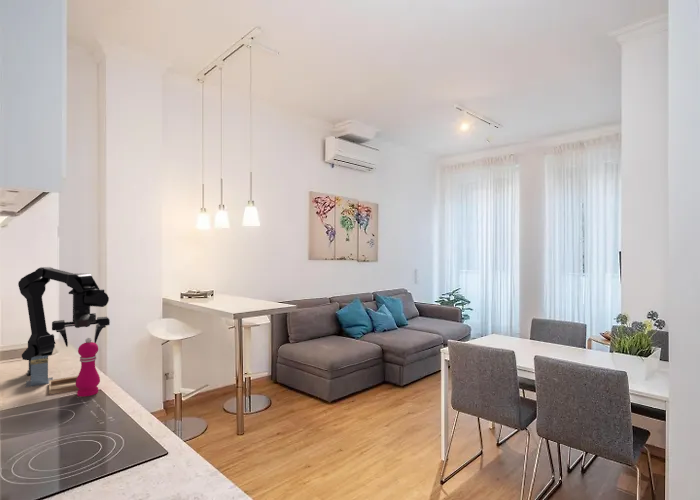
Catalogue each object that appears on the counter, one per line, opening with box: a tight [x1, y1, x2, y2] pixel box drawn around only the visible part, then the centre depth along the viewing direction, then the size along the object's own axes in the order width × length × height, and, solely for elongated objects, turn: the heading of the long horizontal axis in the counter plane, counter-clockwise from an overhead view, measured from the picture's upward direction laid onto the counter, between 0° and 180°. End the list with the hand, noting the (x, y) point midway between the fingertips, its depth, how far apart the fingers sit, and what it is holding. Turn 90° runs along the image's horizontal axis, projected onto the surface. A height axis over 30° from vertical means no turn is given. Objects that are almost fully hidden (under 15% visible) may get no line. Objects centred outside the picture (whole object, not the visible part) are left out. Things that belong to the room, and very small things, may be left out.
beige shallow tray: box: [48, 375, 79, 395], centre depth 145 cm, size 12×10×2 cm
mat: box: [24, 377, 54, 388], centre depth 149 cm, size 8×8×1 cm
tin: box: [30, 355, 49, 387], centre depth 149 cm, size 7×5×9 cm
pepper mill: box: [76, 337, 101, 398], centre depth 139 cm, size 7×7×20 cm
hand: (81, 344), depth 156 cm, fingers open, 9 cm apart
